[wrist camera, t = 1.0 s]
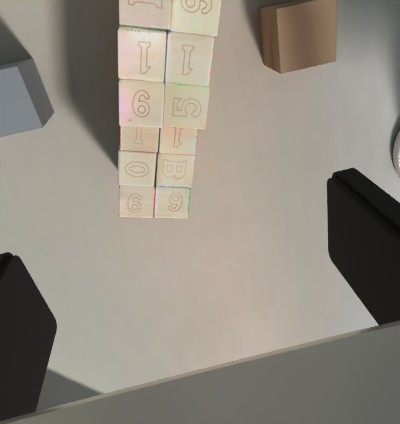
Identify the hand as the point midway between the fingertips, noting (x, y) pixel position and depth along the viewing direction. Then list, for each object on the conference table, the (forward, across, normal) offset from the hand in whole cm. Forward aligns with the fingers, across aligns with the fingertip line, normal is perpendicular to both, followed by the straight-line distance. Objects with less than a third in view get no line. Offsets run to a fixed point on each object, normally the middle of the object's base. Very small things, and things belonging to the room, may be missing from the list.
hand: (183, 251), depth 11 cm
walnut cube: (+28, -13, -1) cm, 31 cm away
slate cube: (+28, +13, -2) cm, 31 cm away
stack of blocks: (+29, 0, 0) cm, 29 cm away
